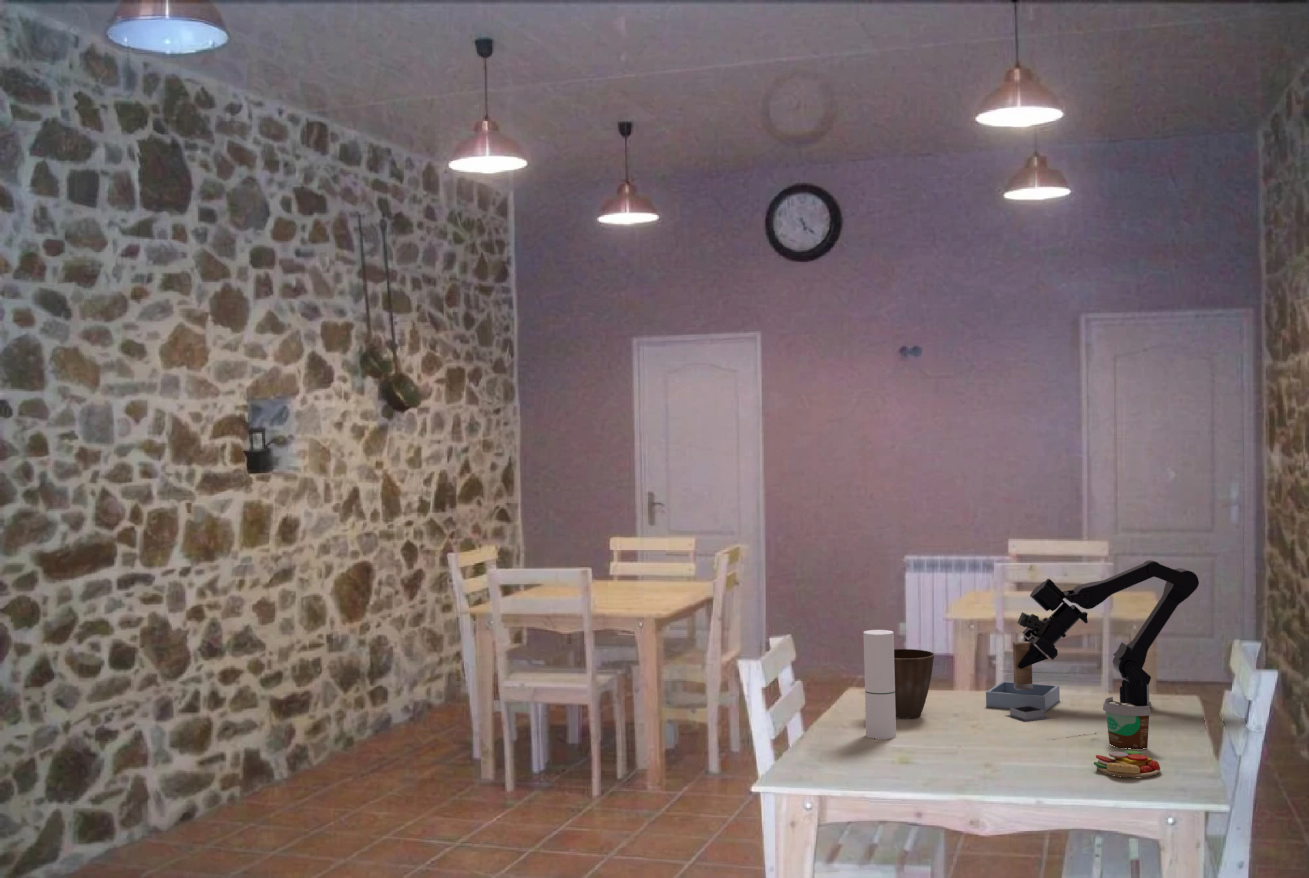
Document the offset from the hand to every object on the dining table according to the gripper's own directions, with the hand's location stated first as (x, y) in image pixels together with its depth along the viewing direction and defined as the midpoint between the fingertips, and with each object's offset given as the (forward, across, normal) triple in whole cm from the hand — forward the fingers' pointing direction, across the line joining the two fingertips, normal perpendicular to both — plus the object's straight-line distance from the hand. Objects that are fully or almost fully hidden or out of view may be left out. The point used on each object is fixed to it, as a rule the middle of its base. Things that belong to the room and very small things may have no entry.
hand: (1017, 666), depth 340 cm
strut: (+3, 0, +5) cm, 6 cm away
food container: (-3, +43, +19) cm, 47 cm away
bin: (+7, 0, +8) cm, 11 cm away
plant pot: (+29, +11, -14) cm, 34 cm away
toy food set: (0, +64, +16) cm, 66 cm away
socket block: (+8, +16, +7) cm, 19 cm away
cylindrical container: (+34, +32, -20) cm, 51 cm away
